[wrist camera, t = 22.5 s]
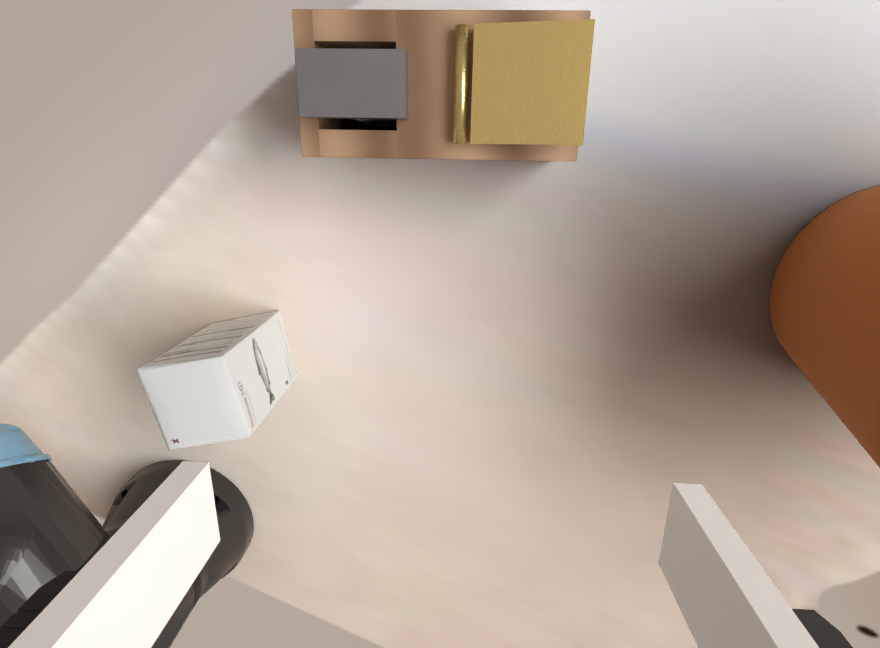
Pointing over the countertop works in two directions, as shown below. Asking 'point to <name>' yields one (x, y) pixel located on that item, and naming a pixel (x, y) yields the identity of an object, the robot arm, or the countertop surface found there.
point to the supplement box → (220, 380)
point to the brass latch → (523, 82)
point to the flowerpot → (836, 310)
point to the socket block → (413, 83)
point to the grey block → (353, 84)
